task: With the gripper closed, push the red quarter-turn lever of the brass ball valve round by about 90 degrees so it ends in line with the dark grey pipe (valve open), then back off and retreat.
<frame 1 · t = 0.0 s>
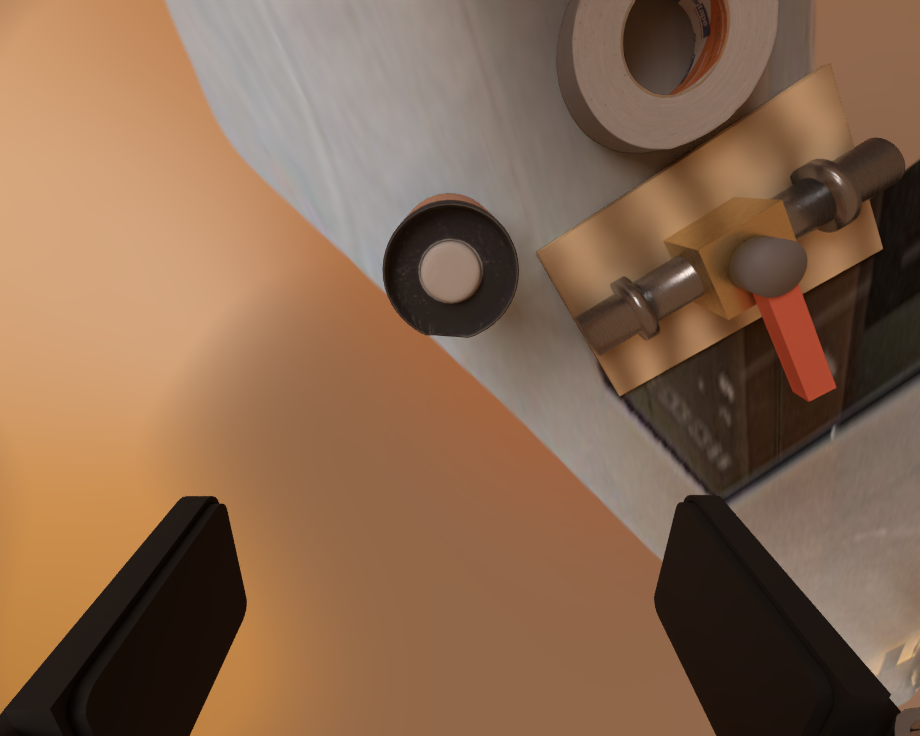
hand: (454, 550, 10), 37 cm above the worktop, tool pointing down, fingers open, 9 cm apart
valve: (706, 249, 44), resting on mount board
travel mug: (449, 233, 43), on the worktop
tape roll: (646, 53, 38), on the worktop
lever: (788, 321, 38), point 9 cm above the worktop, hinge at 0.0°
mount board: (706, 249, 44), on the worktop
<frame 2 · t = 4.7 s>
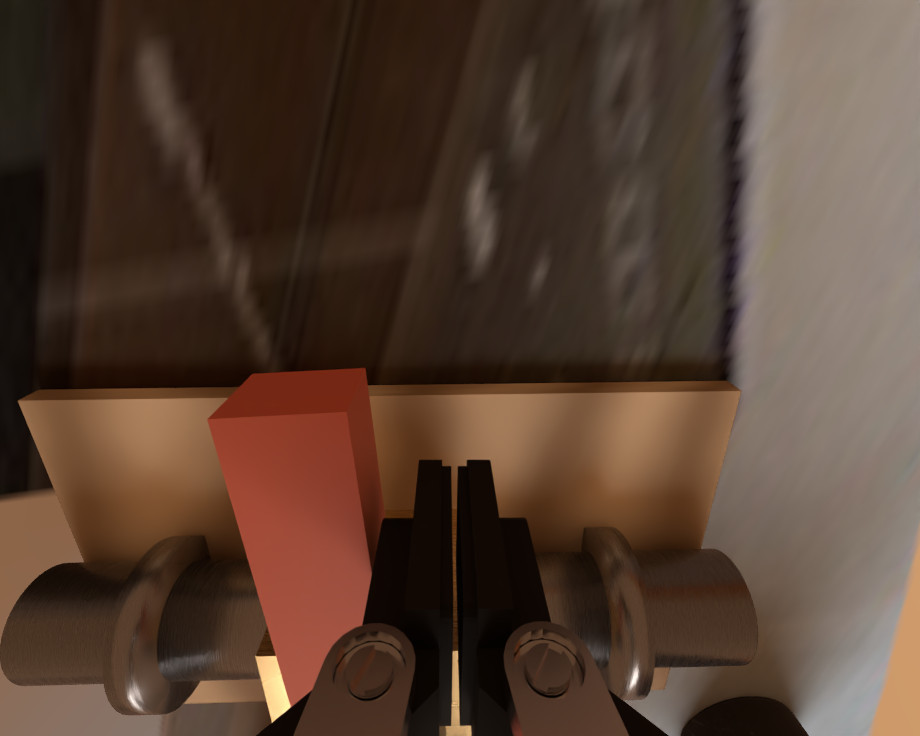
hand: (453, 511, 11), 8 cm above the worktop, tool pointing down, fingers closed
valve: (400, 554, 22), resting on mount board
travel mug: (734, 729, 28), on the worktop
lever: (348, 662, 12), point 9 cm above the worktop, hinge at 2.5°, touching gripper
mount board: (400, 554, 22), on the worktop
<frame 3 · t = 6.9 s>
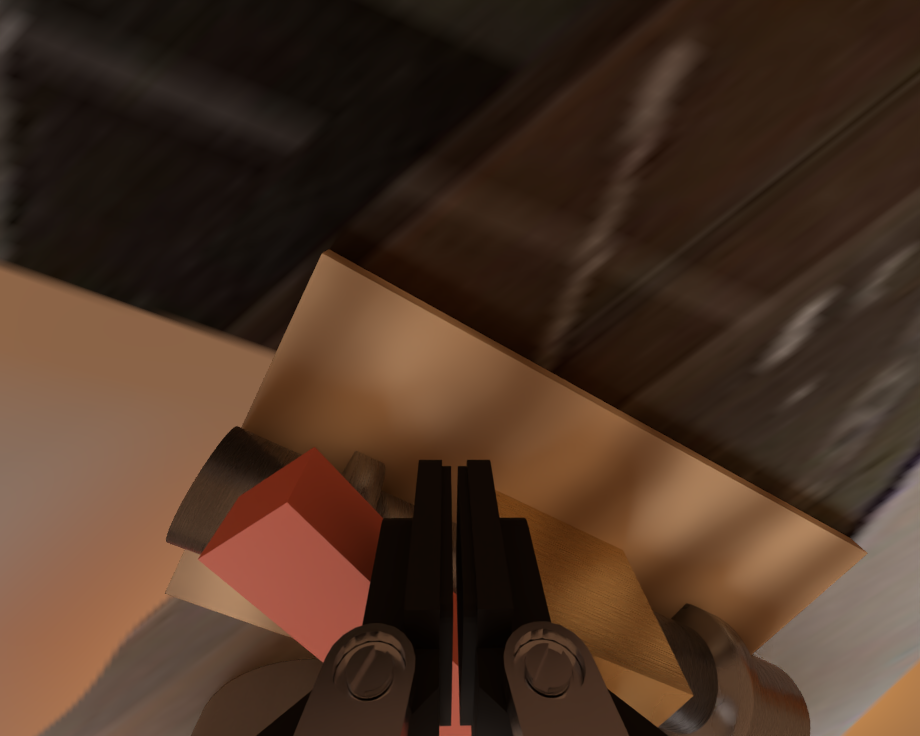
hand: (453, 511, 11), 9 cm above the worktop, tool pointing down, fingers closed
valve: (516, 557, 22), resting on mount board
lever: (459, 688, 12), point 9 cm above the worktop, hinge at 64.8°, touching gripper
mount board: (516, 557, 22), on the worktop
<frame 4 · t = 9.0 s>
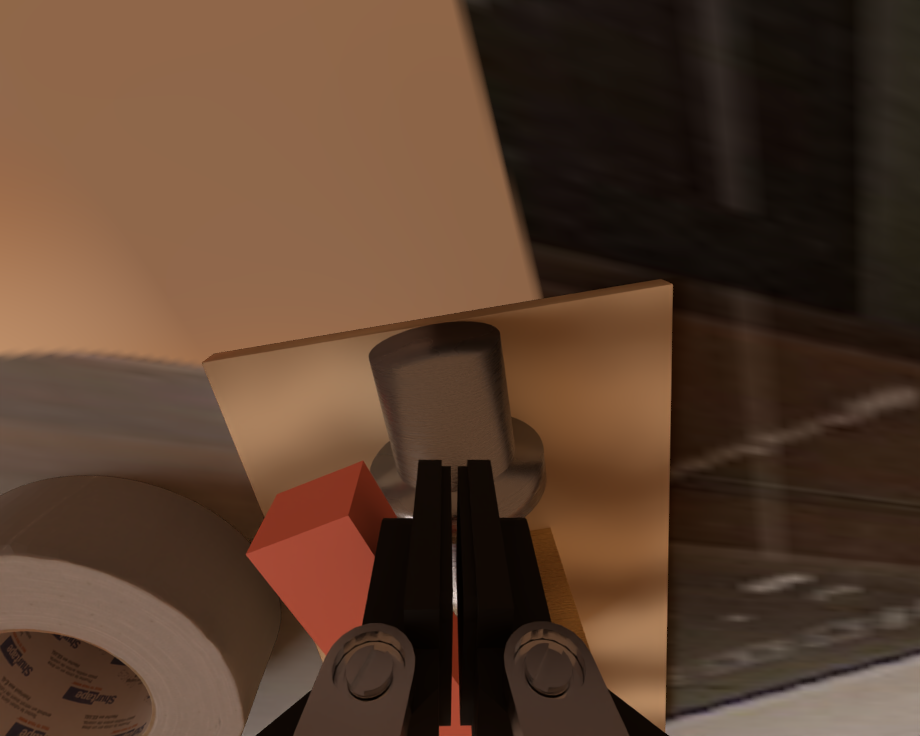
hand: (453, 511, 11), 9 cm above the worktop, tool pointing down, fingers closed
valve: (483, 577, 23), resting on mount board
tape roll: (131, 595, 23), on the worktop
lever: (443, 704, 13), point 9 cm above the worktop, hinge at 103.7°, touching gripper
mount board: (483, 577, 23), on the worktop
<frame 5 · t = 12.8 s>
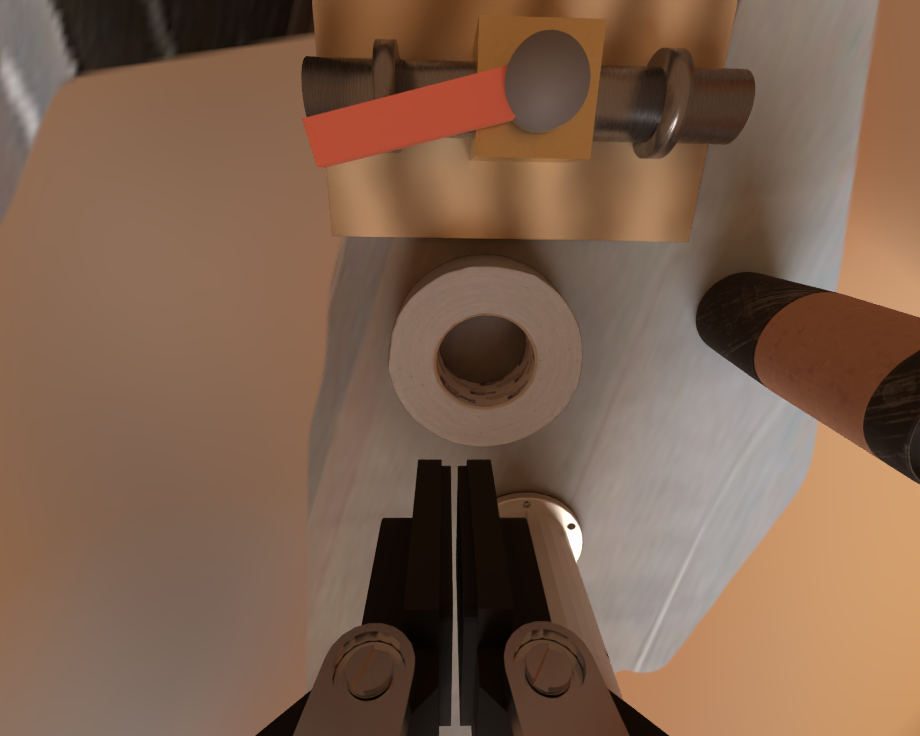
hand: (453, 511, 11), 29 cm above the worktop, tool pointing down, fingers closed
valve: (518, 109, 33), resting on mount board
travel mug: (735, 312, 40), on the worktop
tape roll: (481, 341, 40), on the worktop
lever: (446, 110, 25), point 9 cm above the worktop, hinge at 103.9°
mount board: (518, 109, 33), on the worktop
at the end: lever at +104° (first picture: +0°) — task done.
